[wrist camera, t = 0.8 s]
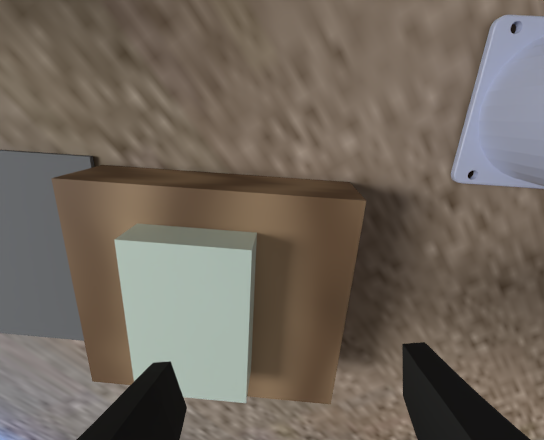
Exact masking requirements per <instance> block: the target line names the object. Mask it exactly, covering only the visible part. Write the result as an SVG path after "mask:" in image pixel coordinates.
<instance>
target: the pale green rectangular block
mask: <svg viewBox="0 0 544 440" xmlns="http://www.w3.org/2000/svg"><path fill="white" fill-rule="evenodd" d="M114 241H115V248H116V255H117V263H118V270H119V277H120V284H121V292H122V299H123V306H124V313H125V320H126V328H127V335H128V342H129V349H130V356H131V364H132V371H133V378H134V381H135V380H136V379H137V378H138V377H139V376H140V375H141V374H142V373H143V372H144V371H145V370H146V369H147V368H148V367H149V366H150V365H151V364H152V363H155V362H169V361H171V363H172V366H173V369H174V372H175V375H176V378H177V381H178V384H179V386H180V389H181V392H182V395H183V397H188V398H198V399H208V400H219V401H229V402H239V403H246V400H247V394H248V387H249V381H250V374H251V356H252V334H253V311H254V288H255V265H256V242H257V233H255V232H242V231H229V230H216V229H203V228H190V227H177V226H163V225H150V224H136V225H134V226H133V227H131V228H130V229H129V230H127V231H126V232H124V233H123V234H121V235H120V236H119V237H117V238H116V239H114Z"/></svg>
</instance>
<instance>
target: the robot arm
mask: <svg viewBox="0 0 544 440" xmlns="http://www.w3.org/2000/svg"><path fill="white" fill-rule="evenodd" d="M512 24H515V25H516V31H515V33H514V34H513V33H512V32H511V31H510V30H511V26H512ZM472 170H473V176H472V177H470V178H468V173H469V172H470V171H472ZM451 178H452V179H453V180H454V181H456V182H458V183H467V184H481V185H496V186H510V187H525V188H539V189H544V16H524V15H504V16H502V17H500V18H498V19H496V20H495V21H494V22H493V23H492V25H491V27H490V30H489V34H488V38H487V41H486V45H485V49H484V52H483V56H482V60H481V63H480V67H479V71H478V75H477V78H476V82H475V86H474V89H473V93H472V97H471V101H470V104H469V108H468V112H467V115H466V119H465V123H464V126H463V130H462V134H461V138H460V141H459V145H458V149H457V152H456V156H455V160H454V164H453V167H452V171H451ZM403 397H404V400H405V403H406V406H407V409H408V412H409V415H410V418H411V421H412V424H413V427H414V430H415V433H416V436H417V438H418V440H530V439H529V438H528V437H527V436H525V435H524V434H523V433H522V432H521V431H520V430H518V429H517V428H516V427H515V426H514V425H513V424H512V423H510V422H509V421H508V420H507V419H506V418H505V417H503V416H502V415H501V414H500V413H499V412H498V411H497V410H496V409H495V408H493V407H492V406H491V405H490V404H489V403H488V402H487V401H486V400H485V399H483V398H482V397H481V396H480V395H479V394H478V393H477V392H476V391H475V390H474V389H473V388H471V387H470V386H469V385H468V384H467V383H466V382H465V381H464V380H463V379H462V378H461V377H460V376H459V375H458V374H457V373H456V372H455V371H454V370H453V369H452V368H450V367H449V366H448V365H447V364H446V363H445V362H444V361H443V360H442V359H441V358H440V357H439V356H438V355H437V354H436V353H435V352H434V351H433V350H432V349H431V348H430V347H429V346H428V345H427V344H426V343H424V342H423V343H410V344H403ZM186 409H187V407H186V404H185V401H184V398H183V395H182V392H181V389H180V386H179V384H178V381H177V378H176V375H175V372H174V369H173V366H172V363H171V361H169V362H155V363H152V364H151V365H150V366H149V367H148V368H147V369H146V370H145V371H144V372H143V373H142V374H141V375H140V376H139V377H138V378H137V379H136V380H135V381H134V382H133V383H132V384H131V385H130V386H129V387H128V388H127V389H126V391H125V392H124V393H123V394H122V395H121V396H120V397H119V398H118V399H117V400H116V401H115V402H114V403H113V404H112V405H111V406H110V407H109V408H108V409H107V410H106V411H105V412H104V413H103V414H102V415H101V416H100V417H99V418H98V419H97V420H96V421H95V422H94V423H93V424H92V425H91V426H90V427H89V428H88V429H87V430H86V431H85V432H84V433H83V434H82V435H81V436H80V437H79V438H78V439H77V440H179V439H180V435H181V431H182V427H183V422H184V418H185V413H186Z"/></svg>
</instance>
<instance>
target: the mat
mask: <svg viewBox="0 0 544 440" xmlns="http://www.w3.org/2000/svg"><path fill="white" fill-rule="evenodd" d="M93 167H94V161H93V156H82V155H68V154H53V153H39V152H24V151H9V150H0V333H7V334H17V335H28V336H39V337H50V338H61V339H72V340H83V341H84V337H83V332H82V327H81V322H80V317H79V312H78V307H77V302H76V298H75V293H74V288H73V283H72V278H71V273H70V268H69V263H68V258H67V253H66V248H65V243H64V239H63V234H62V229H61V224H60V219H59V214H58V209H57V204H56V199H55V194H54V189H53V184H52V180H51V178H54V177H58V176H62V175H66V174H70V173H74V172H77V171H81V170H85V169H89V168H93Z"/></svg>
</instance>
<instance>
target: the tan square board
mask: <svg viewBox="0 0 544 440" xmlns="http://www.w3.org/2000/svg"><path fill="white" fill-rule="evenodd" d="M51 180H52V184H53V189H54V194H55V199H56V204H57V209H58V214H59V219H60V224H61V229H62V234H63V239H64V243H65V248H66V253H67V258H68V263H69V268H70V273H71V278H72V283H73V288H74V293H75V298H76V302H77V307H78V312H79V317H80V322H81V327H82V332H83V337H84V342H85V347H86V352H87V357H88V361H89V366H90V371H91V376H92V381H94V382H105V383H115V384H125V385H131V384H132V383H133V382H134V378H133V371H132V364H131V356H130V349H129V342H128V335H127V328H126V320H125V313H124V306H123V299H122V292H121V284H120V277H119V270H118V263H117V255H116V248H115V241H114V239H116V238H117V237H119V236H120V235H121V234H123V233H124V232H126V231H127V230H129V229H130V228H131V227H133V226H134V225H136V224H150V225H163V226H177V227H190V228H203V229H216V230H229V231H242V232H255V233H257V242H256V265H255V288H254V311H253V334H252V356H251V374H250V381H249V387H248V394H247V396H250V397H260V398H271V399H281V400H292V401H302V402H312V403H323V404H331V399H332V394H333V388H334V382H335V377H336V371H337V365H338V360H339V354H340V348H341V343H342V337H343V331H344V325H345V320H346V314H347V308H348V303H349V297H350V291H351V286H352V280H353V274H354V269H355V263H356V257H357V252H358V246H359V240H360V234H361V229H362V223H363V217H364V212H365V206H366V200H365V199H364V198H363V197H362V195H361V194H360V193H359V192H358V191H357V190H356V189H355V188H354V187H353V185H352V184H351V183H350V182H339V181H324V180H310V179H295V178H281V177H267V176H252V175H238V174H223V173H209V172H195V171H180V170H166V169H151V168H137V167H123V166H108V165H100V166H97V167H93V168H89V169H85V170H81V171H77V172H74V173H70V174H66V175H62V176H58V177H54V178H51Z"/></svg>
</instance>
